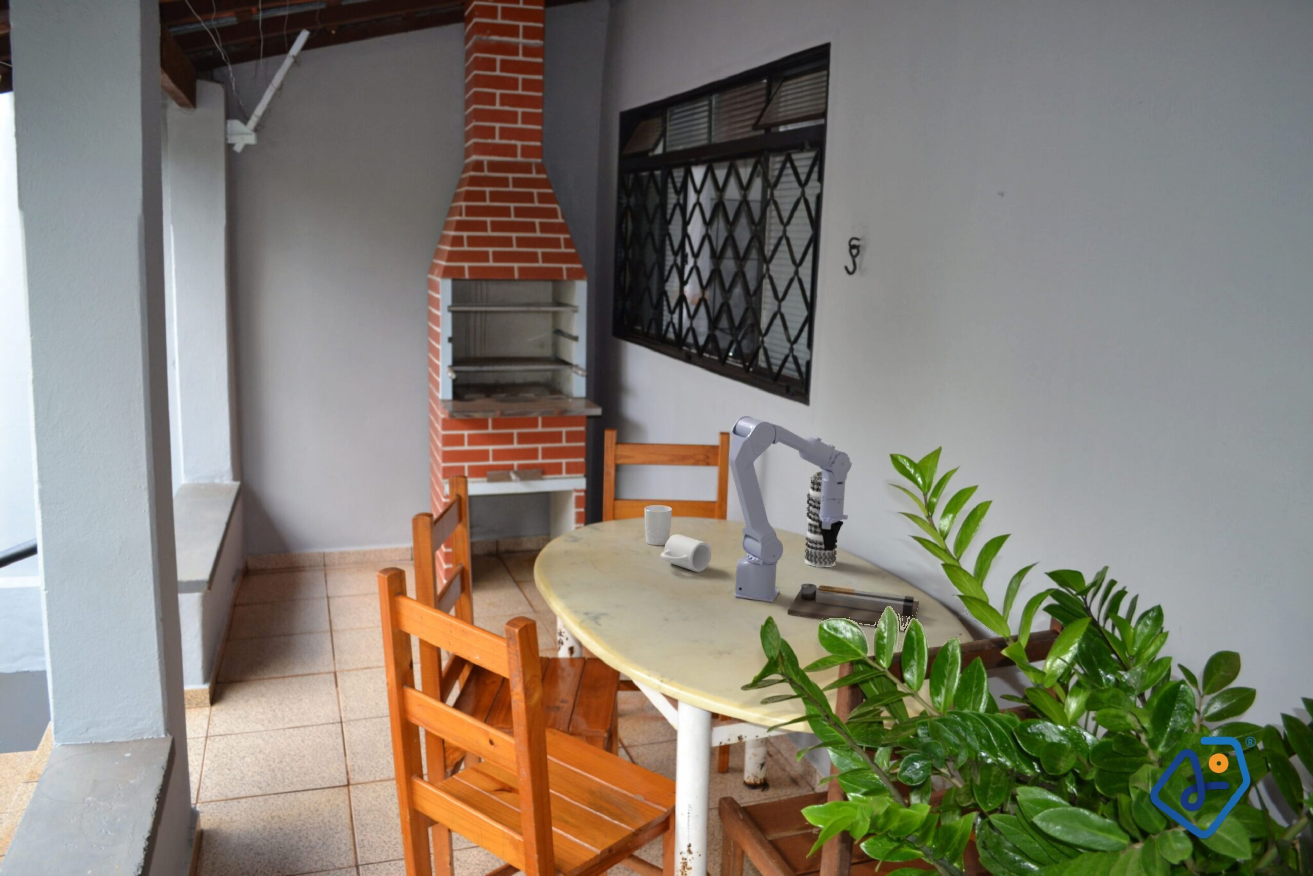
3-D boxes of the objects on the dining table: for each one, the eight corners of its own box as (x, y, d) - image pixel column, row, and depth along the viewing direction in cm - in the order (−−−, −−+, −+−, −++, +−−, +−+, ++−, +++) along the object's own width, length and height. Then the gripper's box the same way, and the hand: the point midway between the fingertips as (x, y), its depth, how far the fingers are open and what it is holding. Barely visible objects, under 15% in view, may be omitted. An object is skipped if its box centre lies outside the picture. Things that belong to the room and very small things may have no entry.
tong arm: (799, 599, 232) (800, 587, 232) (802, 593, 236) (803, 582, 235) (912, 613, 224) (913, 601, 224) (913, 607, 228) (914, 596, 228)
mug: (684, 559, 265) (684, 531, 263) (711, 568, 258) (712, 539, 257) (652, 568, 257) (653, 539, 255) (679, 578, 250) (680, 548, 248)
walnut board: (787, 614, 226) (787, 609, 226) (802, 590, 243) (803, 585, 243) (911, 632, 217) (912, 627, 217) (918, 606, 234) (919, 601, 234)
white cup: (676, 541, 282) (677, 507, 280) (661, 547, 275) (662, 513, 273) (653, 536, 286) (653, 503, 284) (638, 542, 279) (638, 509, 277)
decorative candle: (820, 556, 271) (825, 468, 267) (844, 565, 264) (850, 474, 259) (796, 561, 266) (800, 471, 262) (819, 570, 259) (825, 478, 254)
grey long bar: (815, 602, 231) (816, 592, 230) (817, 600, 232) (817, 590, 232) (911, 616, 223) (912, 605, 223) (912, 613, 225) (912, 603, 225)
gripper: (844, 505, 235) (840, 560, 237) (853, 492, 248) (849, 544, 251) (814, 502, 237) (811, 556, 239) (825, 489, 250) (822, 540, 253)
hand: (829, 549), depth 245 cm, fingers closed
